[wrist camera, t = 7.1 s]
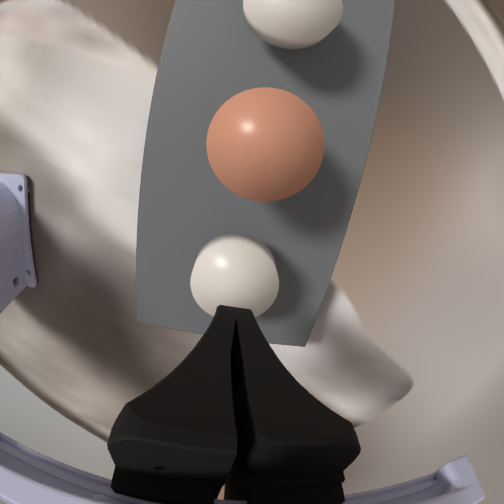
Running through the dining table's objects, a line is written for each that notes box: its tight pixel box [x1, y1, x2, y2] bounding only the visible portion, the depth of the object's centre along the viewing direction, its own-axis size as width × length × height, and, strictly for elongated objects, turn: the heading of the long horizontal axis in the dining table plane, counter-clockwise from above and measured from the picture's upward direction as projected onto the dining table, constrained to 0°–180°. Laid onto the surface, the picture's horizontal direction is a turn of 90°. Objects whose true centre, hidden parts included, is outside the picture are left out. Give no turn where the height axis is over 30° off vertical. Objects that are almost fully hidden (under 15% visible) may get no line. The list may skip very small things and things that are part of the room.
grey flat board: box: [136, 0, 395, 347], centre depth 16 cm, size 26×12×2 cm, turn 169°
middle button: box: [206, 87, 324, 202], centre depth 12 cm, size 4×4×3 cm
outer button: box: [243, 0, 343, 49], centre depth 10 cm, size 4×4×3 cm
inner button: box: [190, 233, 279, 317], centre depth 16 cm, size 4×4×3 cm
